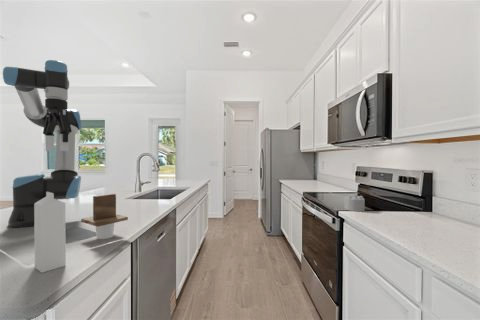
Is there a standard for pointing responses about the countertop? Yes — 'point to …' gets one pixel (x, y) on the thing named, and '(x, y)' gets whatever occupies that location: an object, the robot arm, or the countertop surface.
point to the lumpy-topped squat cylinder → (355, 203)
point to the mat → (78, 234)
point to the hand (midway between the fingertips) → (56, 150)
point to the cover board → (104, 221)
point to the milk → (49, 233)
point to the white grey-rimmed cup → (105, 231)
